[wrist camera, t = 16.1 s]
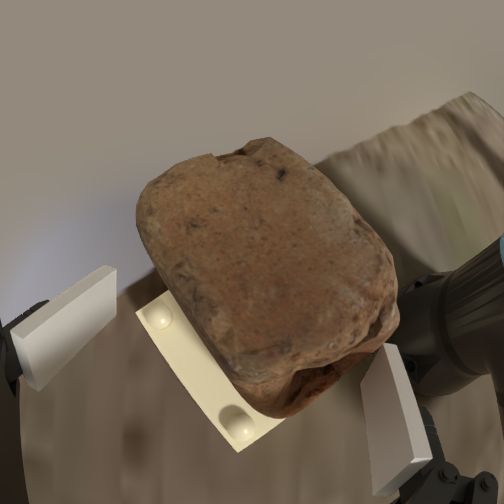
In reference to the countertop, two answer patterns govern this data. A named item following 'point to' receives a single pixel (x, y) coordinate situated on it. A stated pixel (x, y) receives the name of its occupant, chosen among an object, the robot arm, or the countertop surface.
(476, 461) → the countertop surface
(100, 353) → the countertop surface
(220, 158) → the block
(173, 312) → the cream knobbed square piece
